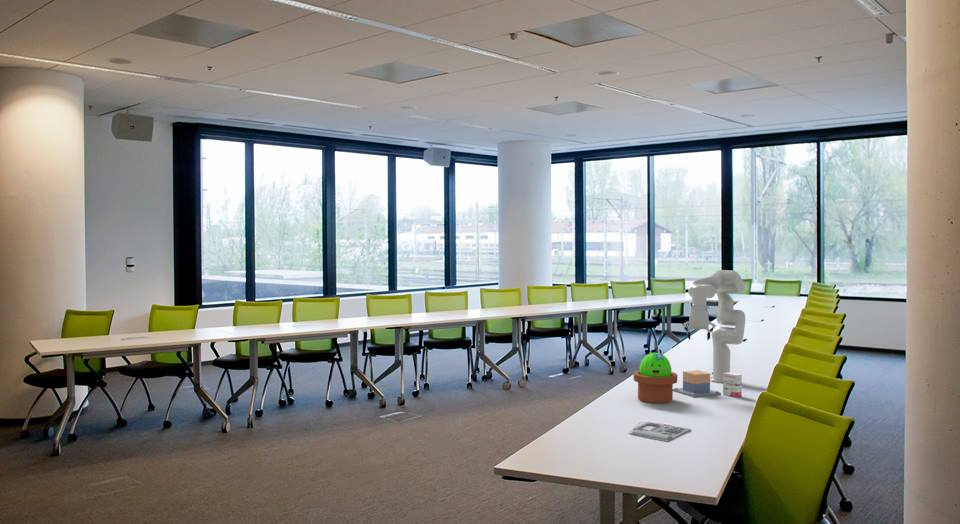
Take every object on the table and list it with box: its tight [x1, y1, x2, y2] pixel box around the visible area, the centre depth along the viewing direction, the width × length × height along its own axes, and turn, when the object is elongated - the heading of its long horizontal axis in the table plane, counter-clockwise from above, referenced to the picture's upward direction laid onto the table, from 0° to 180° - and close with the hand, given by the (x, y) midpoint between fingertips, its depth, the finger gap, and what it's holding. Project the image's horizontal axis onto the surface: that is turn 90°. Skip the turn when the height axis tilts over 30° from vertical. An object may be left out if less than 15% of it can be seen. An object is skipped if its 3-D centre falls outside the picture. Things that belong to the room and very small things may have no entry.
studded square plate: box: [673, 369, 722, 398], centre depth 394 cm, size 18×18×11 cm
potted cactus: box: [633, 352, 678, 404], centre depth 377 cm, size 22×22×25 cm
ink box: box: [722, 372, 743, 398], centre depth 387 cm, size 8×5×12 cm, turn 39°
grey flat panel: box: [629, 421, 692, 443], centre depth 314 cm, size 23×3×20 cm
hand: (698, 339), depth 396 cm, fingers open, 9 cm apart
